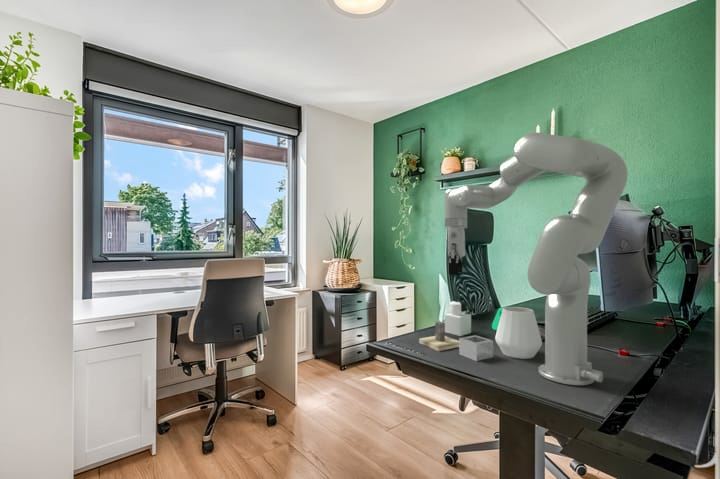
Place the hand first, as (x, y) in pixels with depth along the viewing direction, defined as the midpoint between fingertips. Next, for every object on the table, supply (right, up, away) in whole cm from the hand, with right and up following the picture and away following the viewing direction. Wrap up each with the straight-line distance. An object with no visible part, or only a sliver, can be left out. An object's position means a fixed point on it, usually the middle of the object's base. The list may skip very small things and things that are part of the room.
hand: (456, 273), depth 123 cm
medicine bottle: (+4, -24, +12) cm, 27 cm away
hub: (+2, -24, -14) cm, 28 cm away
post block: (-6, -24, -3) cm, 25 cm away
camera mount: (+23, -24, +10) cm, 35 cm away
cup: (+16, -24, -12) cm, 31 cm away
